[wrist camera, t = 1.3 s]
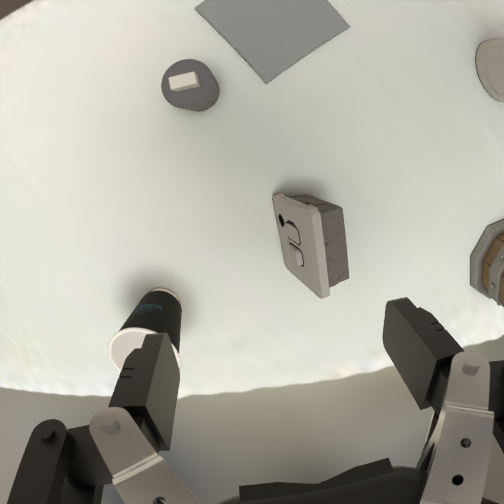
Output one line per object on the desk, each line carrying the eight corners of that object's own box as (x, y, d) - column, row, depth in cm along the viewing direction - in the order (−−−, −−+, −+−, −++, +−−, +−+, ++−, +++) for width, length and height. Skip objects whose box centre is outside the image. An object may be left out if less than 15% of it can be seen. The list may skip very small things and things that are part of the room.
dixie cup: (168, 337, 43) (153, 395, 33) (122, 303, 41) (95, 355, 31) (204, 304, 41) (196, 361, 31) (157, 265, 39) (132, 314, 29)
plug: (215, 68, 30) (206, 48, 21) (222, 106, 32) (215, 101, 22) (175, 77, 30) (150, 62, 21) (182, 115, 32) (159, 113, 23)
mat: (279, -44, 25) (280, -46, 24) (348, 27, 29) (350, 26, 28) (195, 9, 27) (194, 7, 27) (266, 83, 31) (266, 83, 31)
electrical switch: (270, 192, 36) (291, 215, 28) (314, 183, 36) (346, 202, 28) (284, 266, 40) (305, 306, 31) (324, 256, 40) (354, 292, 31)
